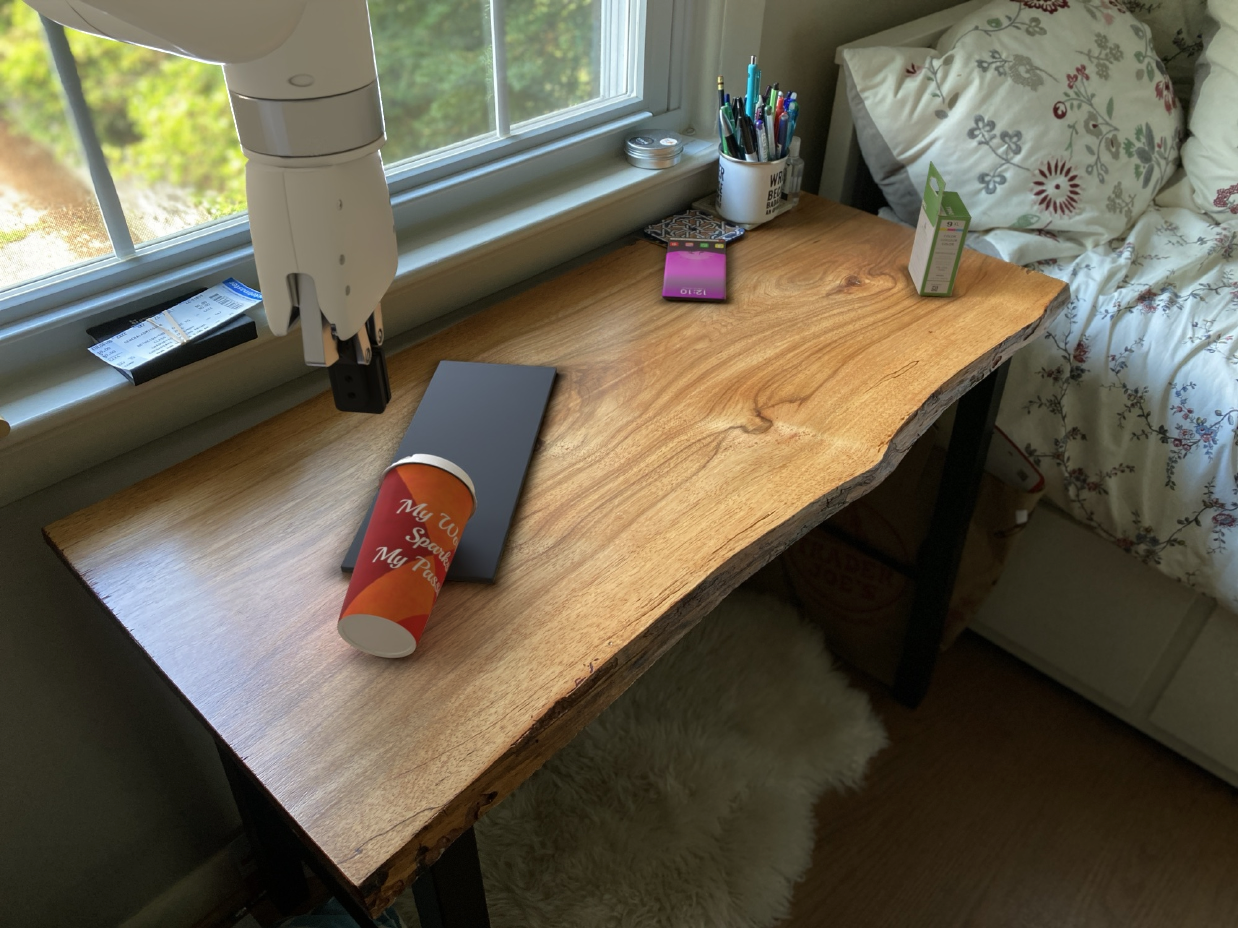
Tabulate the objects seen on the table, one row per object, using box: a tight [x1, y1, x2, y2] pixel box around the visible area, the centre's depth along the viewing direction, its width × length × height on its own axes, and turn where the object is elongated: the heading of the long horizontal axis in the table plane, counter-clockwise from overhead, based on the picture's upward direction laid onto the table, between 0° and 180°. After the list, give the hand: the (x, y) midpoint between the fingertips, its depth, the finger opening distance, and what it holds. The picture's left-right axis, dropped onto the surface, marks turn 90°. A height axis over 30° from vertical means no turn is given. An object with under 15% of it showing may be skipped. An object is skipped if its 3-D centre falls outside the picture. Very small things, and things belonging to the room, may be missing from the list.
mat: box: [340, 360, 558, 585], centre depth 83 cm, size 30×12×1 cm, turn 174°
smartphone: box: [661, 236, 727, 303], centre depth 111 cm, size 7×15×1 cm, turn 175°
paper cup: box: [336, 454, 477, 659], centre depth 68 cm, size 8×8×14 cm
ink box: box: [907, 160, 972, 298], centre depth 105 cm, size 7×4×13 cm, turn 177°
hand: (364, 405), depth 60 cm, fingers closed
